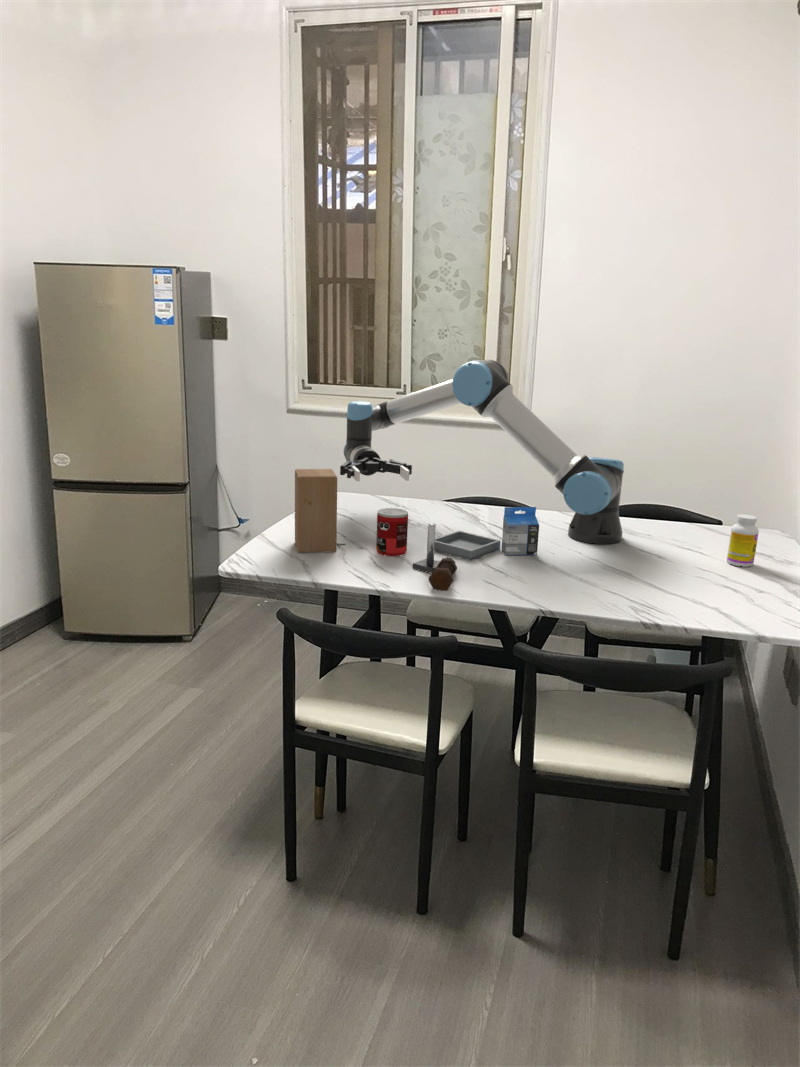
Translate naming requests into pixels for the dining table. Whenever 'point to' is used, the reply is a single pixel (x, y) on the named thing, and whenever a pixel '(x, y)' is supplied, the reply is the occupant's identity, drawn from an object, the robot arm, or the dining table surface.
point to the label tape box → (520, 531)
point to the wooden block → (315, 510)
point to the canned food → (392, 531)
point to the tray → (466, 545)
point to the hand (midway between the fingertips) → (383, 476)
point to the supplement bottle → (743, 541)
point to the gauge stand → (428, 552)
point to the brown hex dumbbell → (443, 574)
